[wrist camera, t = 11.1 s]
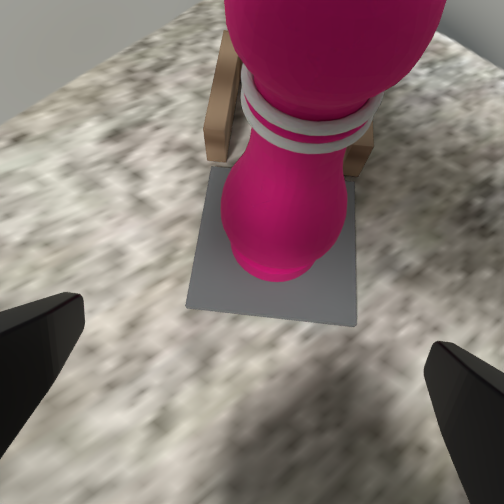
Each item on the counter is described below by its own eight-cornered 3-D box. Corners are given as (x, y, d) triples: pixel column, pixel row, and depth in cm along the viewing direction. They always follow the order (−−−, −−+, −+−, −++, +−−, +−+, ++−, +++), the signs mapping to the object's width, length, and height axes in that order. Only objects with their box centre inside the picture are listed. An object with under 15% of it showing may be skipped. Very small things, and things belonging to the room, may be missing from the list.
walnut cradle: (358, 176, 28) (373, 146, 24) (207, 160, 28) (203, 128, 24) (356, 81, 32) (369, 45, 29) (225, 67, 32) (223, 30, 29)
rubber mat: (353, 327, 23) (356, 325, 22) (186, 308, 23) (185, 305, 22) (352, 186, 27) (354, 181, 27) (211, 170, 27) (211, 166, 27)
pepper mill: (203, 228, 25) (103, -289, 6) (284, 180, 26) (390, -325, 8) (264, 311, 22) (386, -110, 4) (347, 252, 24) (690, -217, 6)
